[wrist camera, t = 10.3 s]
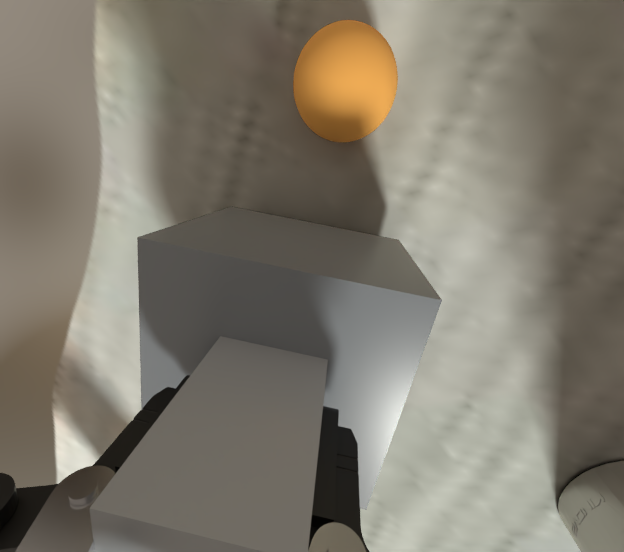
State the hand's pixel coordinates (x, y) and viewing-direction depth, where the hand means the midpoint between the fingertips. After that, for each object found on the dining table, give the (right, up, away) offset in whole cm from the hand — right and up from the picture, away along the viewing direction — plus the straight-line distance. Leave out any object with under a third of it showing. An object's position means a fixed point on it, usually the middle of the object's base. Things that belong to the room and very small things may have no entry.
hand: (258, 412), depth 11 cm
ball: (+3, +14, +4) cm, 15 cm away
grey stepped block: (+1, +3, +9) cm, 10 cm away
